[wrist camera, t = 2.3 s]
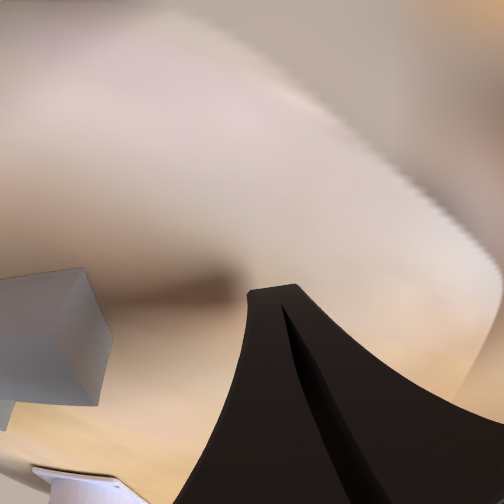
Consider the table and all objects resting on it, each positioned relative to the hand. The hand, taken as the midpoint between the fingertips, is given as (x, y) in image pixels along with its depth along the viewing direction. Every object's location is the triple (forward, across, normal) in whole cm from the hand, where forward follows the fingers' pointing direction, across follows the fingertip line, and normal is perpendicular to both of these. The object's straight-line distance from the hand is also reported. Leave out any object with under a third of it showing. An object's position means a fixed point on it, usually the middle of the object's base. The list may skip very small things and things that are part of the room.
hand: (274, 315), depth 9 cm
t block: (+2, +10, 0) cm, 10 cm away
